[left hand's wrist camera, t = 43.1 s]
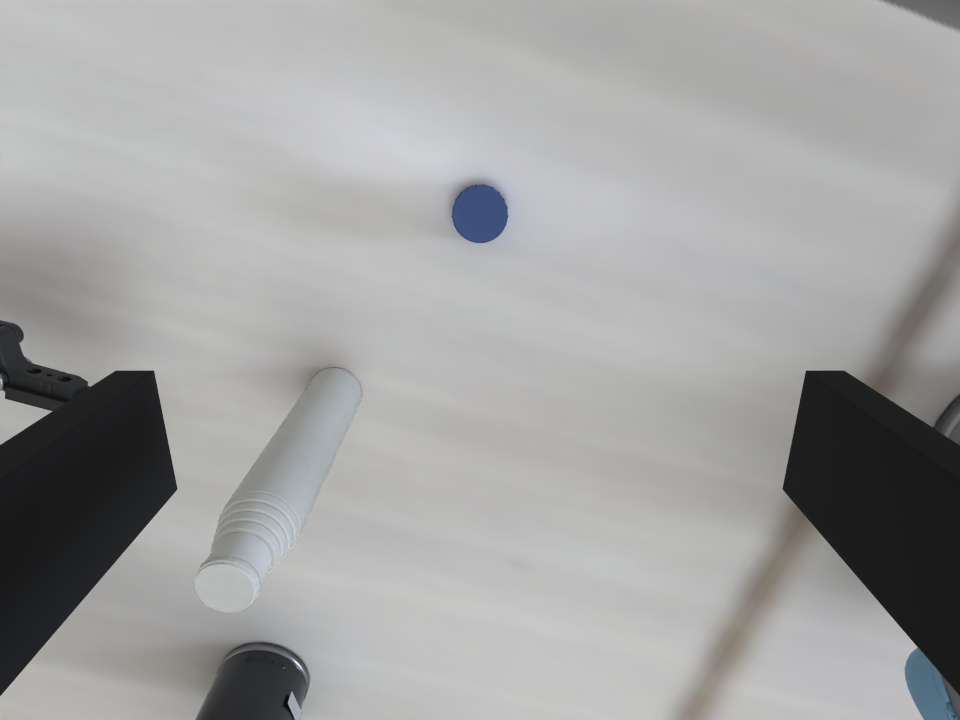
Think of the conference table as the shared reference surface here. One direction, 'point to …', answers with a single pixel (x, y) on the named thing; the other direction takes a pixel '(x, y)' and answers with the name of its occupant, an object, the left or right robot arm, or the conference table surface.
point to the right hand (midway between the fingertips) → (83, 469)
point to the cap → (480, 213)
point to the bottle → (277, 493)
